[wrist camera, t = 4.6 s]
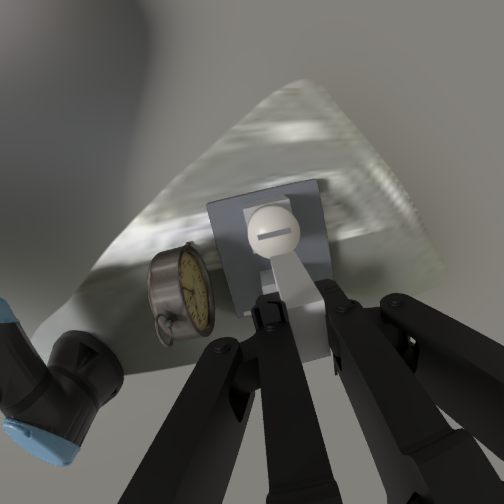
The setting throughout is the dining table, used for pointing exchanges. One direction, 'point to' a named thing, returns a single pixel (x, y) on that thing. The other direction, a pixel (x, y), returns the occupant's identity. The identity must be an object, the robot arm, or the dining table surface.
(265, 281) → the mount
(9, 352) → the robot arm
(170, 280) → the alarm clock
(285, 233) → the knob ivory
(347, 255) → the dining table surface
